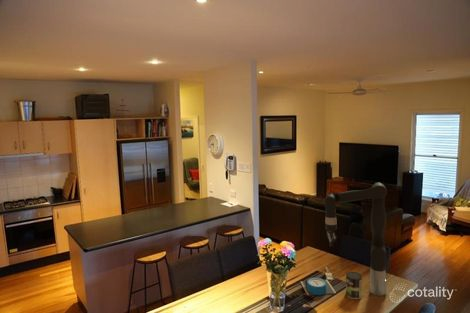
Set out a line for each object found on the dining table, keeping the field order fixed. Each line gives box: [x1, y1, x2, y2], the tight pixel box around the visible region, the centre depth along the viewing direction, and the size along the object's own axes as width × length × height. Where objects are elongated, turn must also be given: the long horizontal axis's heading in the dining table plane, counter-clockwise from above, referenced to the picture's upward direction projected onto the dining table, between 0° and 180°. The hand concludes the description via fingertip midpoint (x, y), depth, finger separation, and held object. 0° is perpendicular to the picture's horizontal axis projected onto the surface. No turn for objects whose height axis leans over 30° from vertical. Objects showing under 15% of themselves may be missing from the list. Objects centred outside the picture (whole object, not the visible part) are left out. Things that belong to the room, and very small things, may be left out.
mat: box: [300, 279, 337, 297], centre depth 227 cm, size 20×18×1 cm
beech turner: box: [324, 266, 334, 281], centre depth 246 cm, size 18×4×1 cm, turn 174°
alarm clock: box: [304, 276, 326, 296], centre depth 223 cm, size 13×6×15 cm
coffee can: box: [345, 271, 363, 300], centre depth 216 cm, size 10×10×14 cm
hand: (331, 246), depth 226 cm, fingers closed
